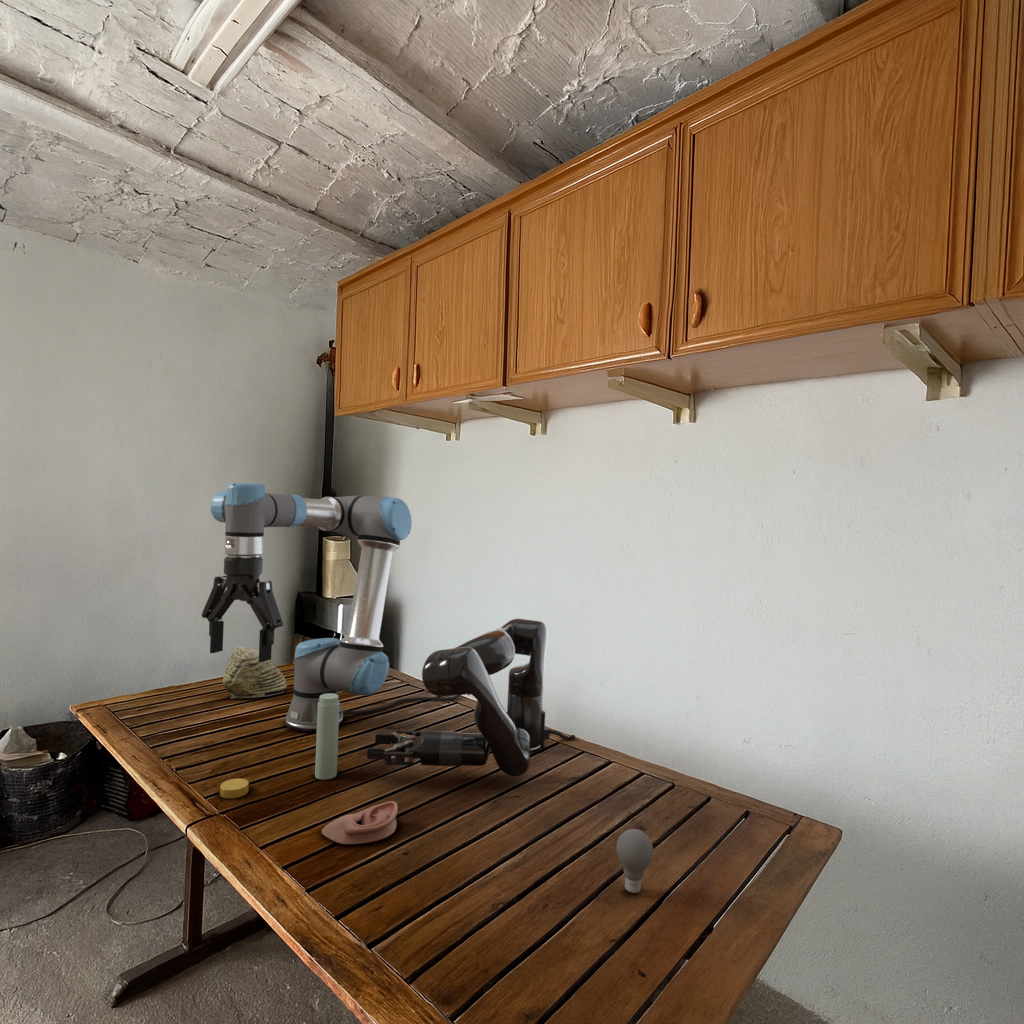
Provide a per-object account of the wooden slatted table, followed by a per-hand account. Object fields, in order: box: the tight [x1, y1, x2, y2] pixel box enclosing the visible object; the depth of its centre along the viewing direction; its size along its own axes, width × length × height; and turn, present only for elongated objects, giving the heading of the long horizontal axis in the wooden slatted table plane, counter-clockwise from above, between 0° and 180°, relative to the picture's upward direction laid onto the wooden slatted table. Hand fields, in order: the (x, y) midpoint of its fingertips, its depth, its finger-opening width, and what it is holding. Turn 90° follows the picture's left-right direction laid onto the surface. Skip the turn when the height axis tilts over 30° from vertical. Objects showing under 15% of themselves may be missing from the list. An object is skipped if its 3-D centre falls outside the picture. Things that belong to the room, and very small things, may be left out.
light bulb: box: [615, 828, 654, 894], centre depth 106 cm, size 6×6×10 cm
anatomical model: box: [321, 800, 399, 845], centre depth 121 cm, size 13×4×12 cm
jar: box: [314, 693, 340, 781], centre depth 144 cm, size 5×5×18 cm
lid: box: [219, 777, 250, 799], centre depth 134 cm, size 6×6×2 cm
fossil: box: [222, 646, 288, 699], centre depth 198 cm, size 9×18×15 cm, turn 132°
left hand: (240, 656), depth 134 cm, fingers open, 13 cm apart
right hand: (371, 745), depth 144 cm, fingers open, 8 cm apart
